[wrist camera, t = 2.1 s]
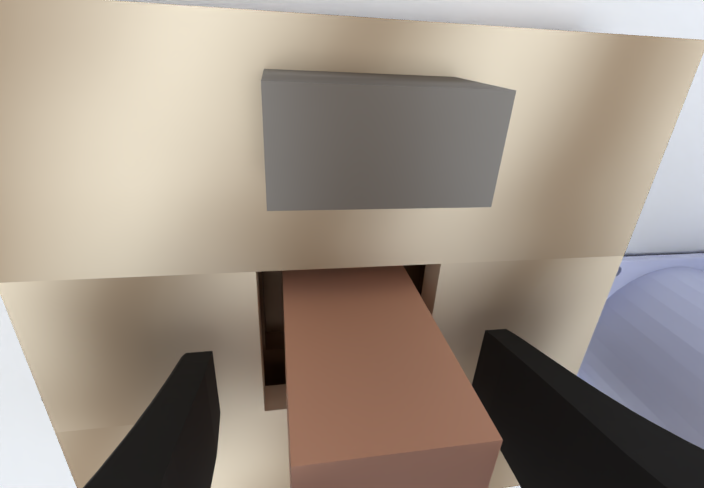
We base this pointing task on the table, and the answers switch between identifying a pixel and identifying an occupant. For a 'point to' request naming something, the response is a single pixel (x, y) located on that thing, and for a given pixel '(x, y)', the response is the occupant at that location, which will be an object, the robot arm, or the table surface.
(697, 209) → the table surface
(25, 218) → the lid
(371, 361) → the terracotta rectangular block
